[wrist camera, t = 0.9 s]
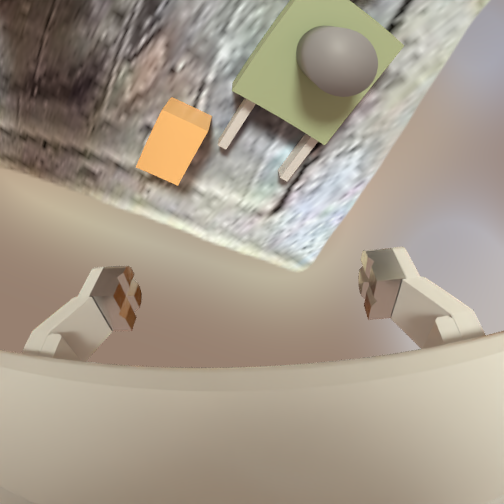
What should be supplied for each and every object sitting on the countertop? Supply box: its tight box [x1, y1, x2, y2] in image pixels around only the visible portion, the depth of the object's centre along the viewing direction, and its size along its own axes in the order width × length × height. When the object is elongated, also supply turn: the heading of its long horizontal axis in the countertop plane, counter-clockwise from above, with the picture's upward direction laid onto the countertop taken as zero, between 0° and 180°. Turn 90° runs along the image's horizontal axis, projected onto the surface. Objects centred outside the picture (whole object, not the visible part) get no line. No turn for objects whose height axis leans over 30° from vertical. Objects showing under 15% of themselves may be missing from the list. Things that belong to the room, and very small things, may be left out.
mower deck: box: [218, 0, 404, 181], centre depth 27 cm, size 11×20×9 cm, turn 148°
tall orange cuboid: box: [136, 97, 212, 186], centre depth 32 cm, size 5×7×5 cm
